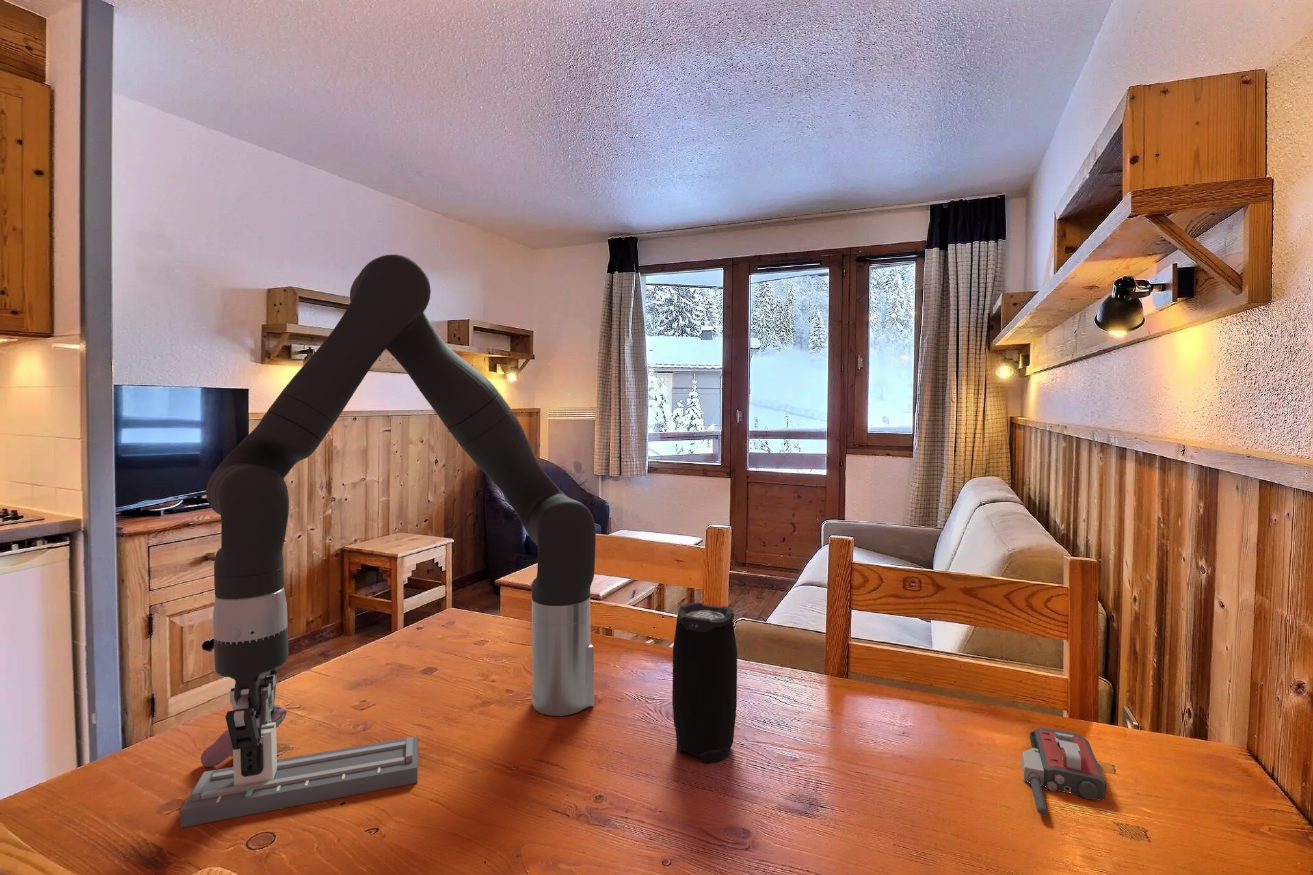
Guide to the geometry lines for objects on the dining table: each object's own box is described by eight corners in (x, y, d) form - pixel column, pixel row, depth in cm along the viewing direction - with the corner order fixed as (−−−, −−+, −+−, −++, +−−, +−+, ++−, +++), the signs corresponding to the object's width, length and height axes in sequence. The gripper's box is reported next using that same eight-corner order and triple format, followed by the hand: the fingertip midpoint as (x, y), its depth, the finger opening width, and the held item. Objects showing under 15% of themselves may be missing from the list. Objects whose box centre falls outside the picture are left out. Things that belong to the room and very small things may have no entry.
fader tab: (277, 768, 79) (276, 720, 79) (273, 779, 77) (271, 730, 76) (239, 775, 77) (237, 726, 77) (233, 786, 75) (232, 736, 75)
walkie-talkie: (1014, 738, 91) (1031, 821, 73) (1015, 709, 91) (1032, 784, 73) (1086, 753, 88) (1123, 844, 69) (1087, 722, 87) (1125, 805, 69)
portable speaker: (744, 739, 90) (746, 605, 89) (720, 773, 82) (722, 625, 81) (689, 725, 94) (690, 596, 93) (661, 756, 86) (662, 615, 85)
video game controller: (220, 783, 82) (239, 739, 81) (194, 764, 83) (212, 720, 82) (280, 743, 92) (297, 703, 91) (255, 726, 92) (273, 687, 92)
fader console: (418, 750, 87) (417, 730, 87) (417, 782, 80) (417, 761, 80) (204, 787, 79) (203, 765, 78) (180, 827, 71) (180, 803, 71)
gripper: (274, 644, 71) (278, 793, 72) (297, 607, 84) (301, 733, 85) (194, 653, 68) (200, 807, 69) (231, 613, 81) (236, 743, 82)
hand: (255, 766), depth 77 cm, fingers closed on fader tab, 2 cm apart
